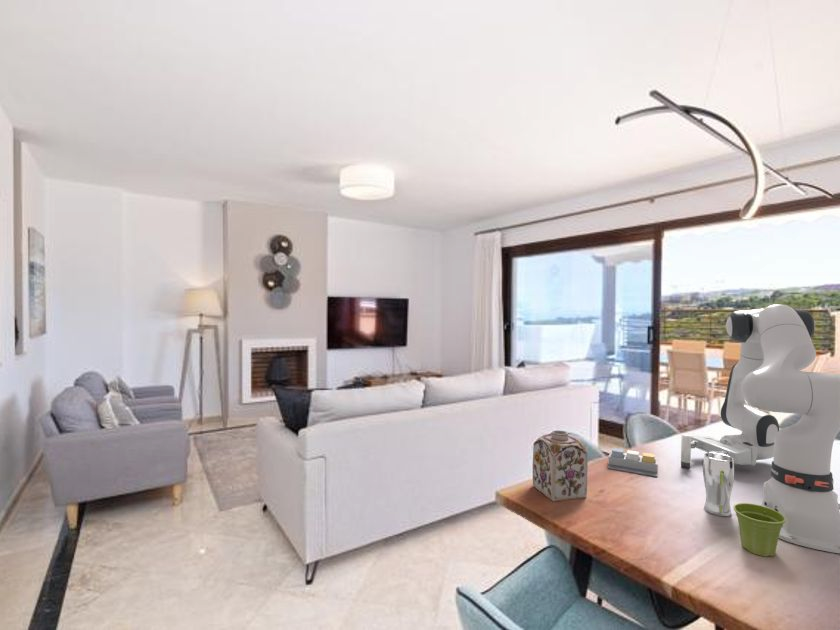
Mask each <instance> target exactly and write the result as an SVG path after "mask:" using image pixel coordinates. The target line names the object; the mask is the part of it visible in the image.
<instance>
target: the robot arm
mask: <svg viewBox="0 0 840 630" xmlns="http://www.w3.org/2000/svg"><path fill="white" fill-rule="evenodd" d="M725 328H726V332H727V334H728V337H729V338H730V339H731V340H732V341H734V342H736V343H740V350H739V351H740V353H739V360H738V362H735V364H733V366H732V367H731V370H730V373H729V377H728V380H727V381H728V382H727V386H726V393H725V397H724V400H723V401H724V402H722V403H723V404H722V406H721V408H720V412H719V413H720V417H721V420H722V422H723V423H724V424H725V425H726V426H729V427H731V428H734V429H737V430H738V431H740V432H741V434H730V435H729V434H728V435H727V434H726V435H722V437H721V438H720V439H718V438H715V437H711V436H707V435H690V436H691V449H695V448H696V449H698V450H700V451H703V452H705V453H720V454H724V455H728V456H730V457H732V458H733V459H734V464H736V465H749V466H756V465H757V461H761V460H768V459H769V460H770V459H771V458H773V460H772V461H771V465H770V476H771V477H770V478H769V479H768V480H767V481H765V482H763V488H762V489H763V490H762V501H761V506H764V507H768V508H770V509H773V510H775V511H777V512H779V513H781V514H782V515H784V516H785V518H786V522H785V523H783V526H782V528H781V530H780V534H779V538H778V539H780V540H783V541H785V542H788V543H791V544H794V545H799V546H802V547H805V548H810V549H813V550H820V551H824V552H829V553H835V554H840V503H839V502H838V493H836V492H835V491H833V490H835V489H834V482H835V481H834V478H833V477H834V476H833V472H832V471H831V461H832V452H833V445H834V441H836V438H837V436H838V434H839V433H840V373H834V372H833V373H832V372H817V371H815V372H814V371H803V370H804V369H806V368H807V367H809V366H810V365H811V364H813V363H814V361H815V360H816V356H817V350H816V348H815V346H814V345H815V344H814V343H813V340H812V337H813V336H814V334H815V330H816V322H815V320H814V317H813V315H812V314H811V313H810V312H809V311H808V310H804V309H800V308H792V307H791V306H789V305H787V304H780V303H779V304H771V305H769V306H766V307H764V308H755V309H748V310H744V309H741V310H736V311H732V312H731V313H730V314H729V315H728V316H727V320H726V322H725ZM763 410H764V411H763ZM766 411H767V412H766ZM768 412H772V413H781V414H782V413H783V414H793V415H801V417H800V419H799V420H798V421H797V422H795V423H794V424H791V425H787V426H785V427H783V428H780V423H779V421H778V419H777V418H776V417H775V416H774V415H772V414H770V413H768Z"/></svg>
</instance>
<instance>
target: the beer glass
mask: <svg viewBox="0 0 840 630" xmlns="http://www.w3.org/2000/svg"><path fill="white" fill-rule="evenodd" d="M734 464H735V463H734V459H733V458H732V457H730V456H728V455H724V454H720V453H708V452H705V453H704V455H703V464H702V465H703V466H702V476H703V477H702V478H703V482H704V488H705V503H704V507H703V509H704V510H705V512H707V513H709V514H712V515H714V516H718V517H730V516H732V510H731V504H730V503H731V502H730V500H731V495H732V491H733V487H734V481H735V465H734Z"/></svg>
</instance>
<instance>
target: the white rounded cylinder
mask: <svg viewBox="0 0 840 630" xmlns="http://www.w3.org/2000/svg"><path fill="white" fill-rule="evenodd" d="M691 436H692V435H689V434H681V440H680V441H681V446H680V447H681V449H680V467H681V468H682V469H686V470H687V469H688V470H689V469H691V459H692V458H691V457H692V456H691V454H692V453H691V452H692V451H691V450H692V448H691Z"/></svg>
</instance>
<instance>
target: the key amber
mask: <svg viewBox="0 0 840 630" xmlns="http://www.w3.org/2000/svg"><path fill="white" fill-rule="evenodd" d="M642 456H643V460H642V462H648V463H654V464H655V459H656V455H655V454H654V453H650V452H648V453H647V452H642Z"/></svg>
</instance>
